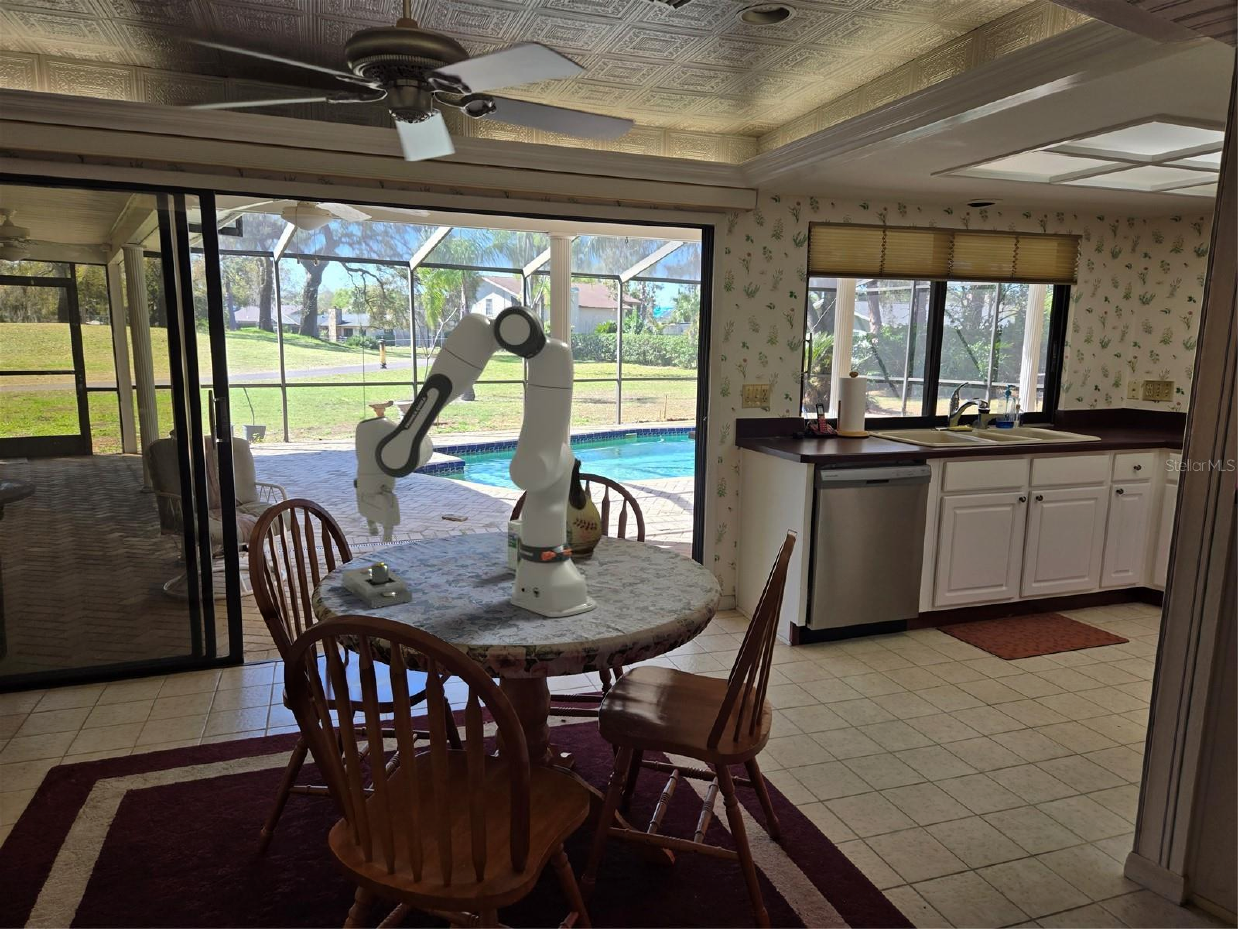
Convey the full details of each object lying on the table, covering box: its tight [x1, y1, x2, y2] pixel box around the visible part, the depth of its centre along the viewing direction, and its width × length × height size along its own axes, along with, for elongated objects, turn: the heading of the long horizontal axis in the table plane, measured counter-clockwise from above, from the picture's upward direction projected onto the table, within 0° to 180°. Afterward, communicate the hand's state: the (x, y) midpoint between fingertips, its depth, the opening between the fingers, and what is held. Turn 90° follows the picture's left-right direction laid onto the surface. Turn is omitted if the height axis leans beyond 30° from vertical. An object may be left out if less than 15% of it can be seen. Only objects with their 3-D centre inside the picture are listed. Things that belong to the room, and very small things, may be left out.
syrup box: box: [507, 519, 522, 576], centre depth 213 cm, size 6×6×14 cm
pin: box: [370, 561, 389, 586], centre depth 192 cm, size 4×4×9 cm
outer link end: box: [341, 566, 408, 598], centre depth 196 cm, size 19×10×5 cm, turn 37°
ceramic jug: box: [566, 457, 603, 558], centre depth 231 cm, size 17×15×30 cm
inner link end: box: [353, 588, 413, 609], centre depth 191 cm, size 13×10×3 cm
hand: (380, 538), depth 190 cm, fingers open, 8 cm apart
